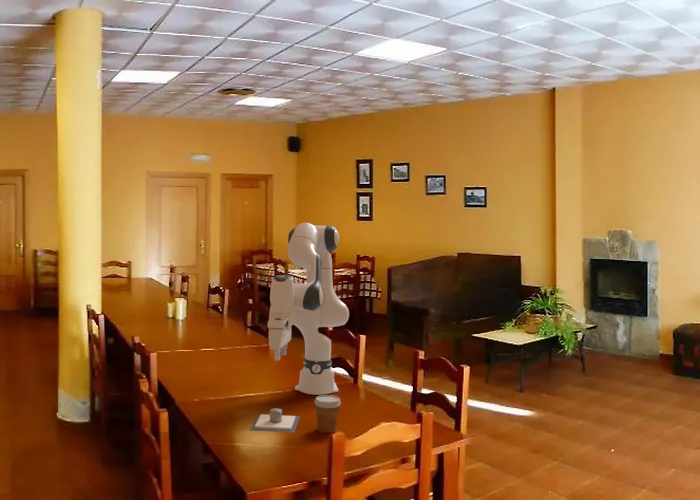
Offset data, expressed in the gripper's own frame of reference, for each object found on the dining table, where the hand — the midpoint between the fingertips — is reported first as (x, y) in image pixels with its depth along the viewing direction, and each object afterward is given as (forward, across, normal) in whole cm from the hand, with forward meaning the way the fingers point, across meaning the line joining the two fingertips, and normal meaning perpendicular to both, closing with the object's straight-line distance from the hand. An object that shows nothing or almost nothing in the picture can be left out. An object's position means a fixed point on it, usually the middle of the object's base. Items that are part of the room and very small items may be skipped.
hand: (280, 357), depth 244 cm
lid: (+24, 0, -1) cm, 24 cm away
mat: (+25, 0, -1) cm, 25 cm away
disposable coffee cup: (+25, +3, +18) cm, 31 cm away
